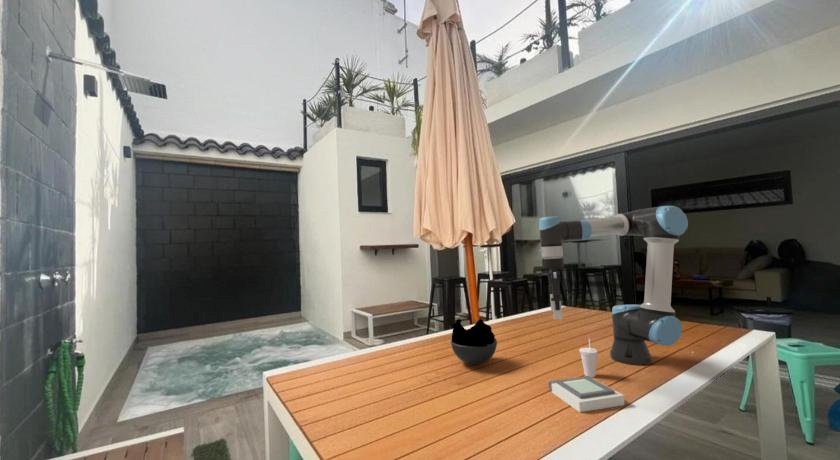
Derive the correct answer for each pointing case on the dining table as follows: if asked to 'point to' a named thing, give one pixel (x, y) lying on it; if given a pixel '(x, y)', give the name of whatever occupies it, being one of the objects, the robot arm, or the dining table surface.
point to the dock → (586, 393)
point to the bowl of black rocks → (473, 342)
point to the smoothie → (589, 360)
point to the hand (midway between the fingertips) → (556, 314)
